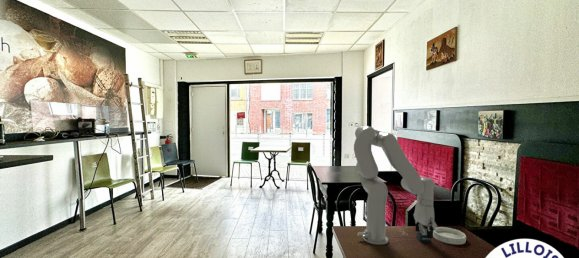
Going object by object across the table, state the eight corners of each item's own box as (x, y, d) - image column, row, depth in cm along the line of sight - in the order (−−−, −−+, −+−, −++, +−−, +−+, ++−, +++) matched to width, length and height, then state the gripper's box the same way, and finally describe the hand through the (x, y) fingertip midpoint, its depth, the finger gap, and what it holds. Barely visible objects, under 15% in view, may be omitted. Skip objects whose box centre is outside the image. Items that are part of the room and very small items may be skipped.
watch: (421, 243, 140) (422, 222, 140) (414, 236, 148) (415, 216, 148) (432, 243, 140) (433, 222, 139) (425, 237, 148) (426, 216, 148)
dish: (447, 245, 138) (447, 239, 138) (426, 233, 153) (426, 228, 153) (472, 243, 141) (473, 237, 141) (450, 231, 156) (450, 226, 156)
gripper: (408, 197, 151) (407, 228, 152) (430, 207, 134) (429, 242, 135) (420, 196, 152) (419, 227, 153) (443, 206, 135) (442, 241, 136)
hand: (423, 234), depth 144 cm, fingers closed on watch, 8 cm apart
